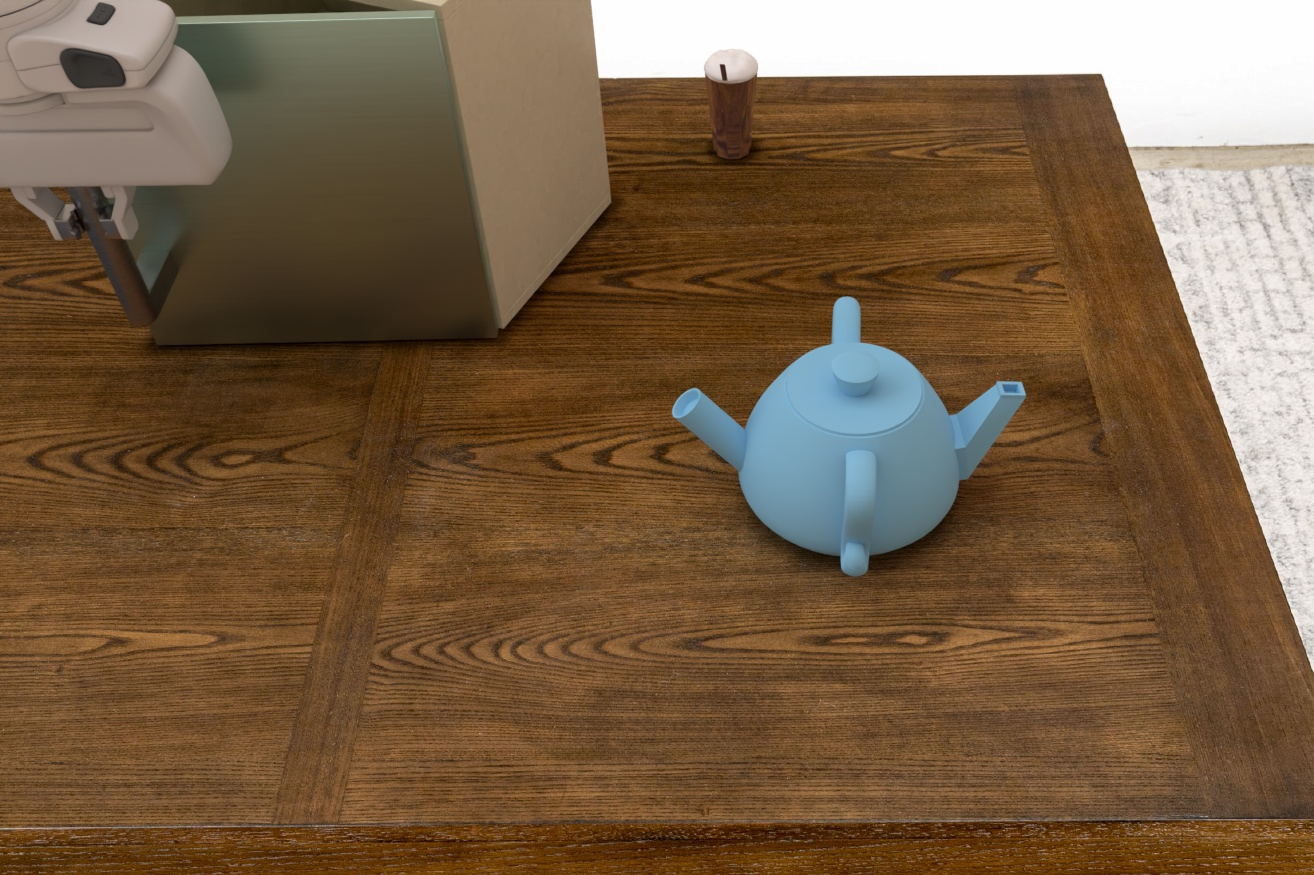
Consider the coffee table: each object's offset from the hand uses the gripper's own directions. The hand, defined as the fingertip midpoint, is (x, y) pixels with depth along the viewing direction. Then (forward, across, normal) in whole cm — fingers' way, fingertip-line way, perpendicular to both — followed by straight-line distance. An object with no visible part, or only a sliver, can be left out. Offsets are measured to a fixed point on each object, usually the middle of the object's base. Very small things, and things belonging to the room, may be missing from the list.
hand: (99, 234), depth 82 cm
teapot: (+14, +48, -10) cm, 51 cm away
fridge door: (+14, +10, +3) cm, 18 cm away
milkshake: (+15, +41, +31) cm, 53 cm away
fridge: (+15, +15, +21) cm, 29 cm away
